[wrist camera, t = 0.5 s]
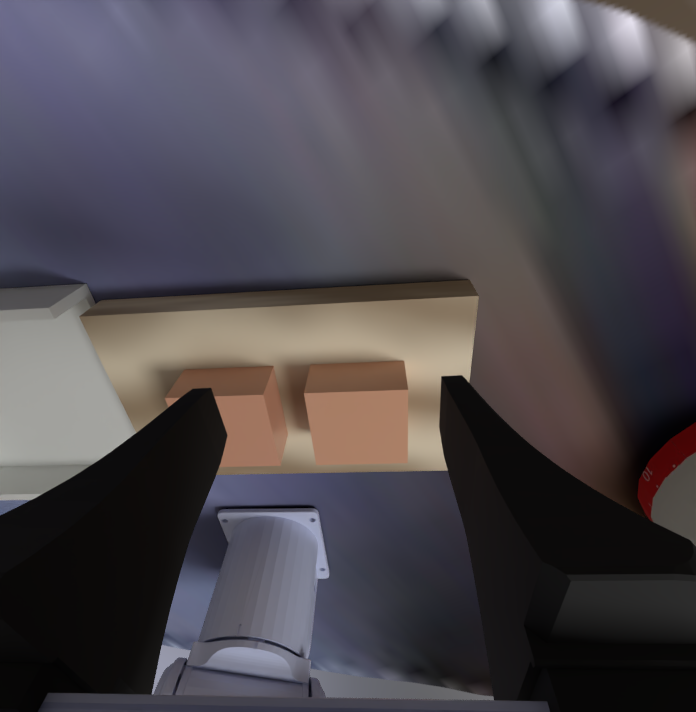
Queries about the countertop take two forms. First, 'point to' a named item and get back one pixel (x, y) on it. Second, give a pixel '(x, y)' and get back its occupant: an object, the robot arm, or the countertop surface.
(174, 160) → the countertop surface
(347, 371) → the tile
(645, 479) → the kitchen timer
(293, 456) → the beige flat slab
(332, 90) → the countertop surface
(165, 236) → the countertop surface
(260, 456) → the tile
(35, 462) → the tray
